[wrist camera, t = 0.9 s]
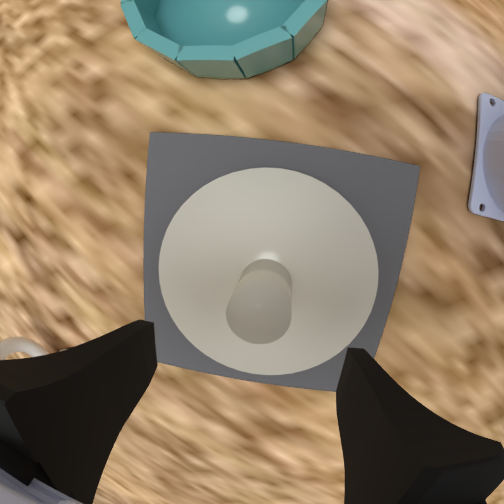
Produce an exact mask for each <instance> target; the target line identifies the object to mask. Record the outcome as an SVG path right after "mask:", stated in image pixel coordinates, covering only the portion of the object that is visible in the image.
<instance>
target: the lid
mask: <svg viewBox="0 0 504 504" xmlns="http://www.w3.org/2000/svg"><path fill="white" fill-rule="evenodd" d="M378 273H379V271H378V260H377V254H376V250H375V246H374V243H373V240H372V238H371V235H370V233H369V230H368V228H367V227H366V225H365V223H364V222H363V220H362V218H361V217H360V215H359V214H358V213H357V211H356V210H355V209H354V208H353V207H352V205H351V204H350V203H349V202H348V201H347V200H346V199H345V198H343V197H342V196H341V195H340V194H339V193H338V192H336V191H335V190H334V189H332V188H331V187H329V186H328V185H326V184H325V183H323V182H321V181H319V180H317V179H315V178H313V177H311V176H309V175H306V174H303V173H300V172H297V171H293V170H288V169H283V168H270V167H263V168H251V169H246V170H241V171H237V172H233V173H230V174H227V175H225V176H222V177H219V178H217V179H215V180H213V181H212V182H210V183H208V184H206V185H204V186H203V187H202V188H200V189H199V190H198V191H196V192H195V193H194V194H193V195H192V196H191V197H190V198H189V199H188V200H187V201H186V202H185V203H184V204H183V205H182V206H181V207H180V209H179V210H178V211H177V213H176V214H175V215H174V217H173V219H172V221H171V222H170V224H169V226H168V228H167V230H166V233H165V236H164V239H163V241H162V246H161V250H160V256H159V282H160V287H161V292H162V296H163V299H164V302H165V305H166V307H167V309H168V311H169V314H170V316H171V318H172V319H173V321H174V322H175V324H176V326H177V327H178V329H179V330H180V331H181V332H182V333H183V335H184V336H185V337H186V338H187V339H188V340H189V341H190V342H191V343H192V344H193V345H194V346H195V347H196V348H197V349H199V350H200V351H201V352H203V353H204V354H205V355H207V356H208V357H210V358H212V359H213V360H215V361H217V362H219V363H221V364H223V365H225V366H227V367H230V368H233V369H236V370H239V371H243V372H247V373H252V374H260V375H283V374H291V373H296V372H300V371H304V370H307V369H310V368H312V367H315V366H318V365H320V364H321V363H323V362H325V361H327V360H329V359H331V358H332V357H334V356H335V355H337V354H338V353H339V352H341V351H342V350H343V349H344V348H345V347H346V346H347V345H349V344H350V343H351V341H352V340H353V339H354V338H355V337H356V336H357V335H358V333H359V332H360V330H361V329H362V327H363V326H364V324H365V323H366V321H367V319H368V317H369V315H370V313H371V310H372V307H373V304H374V301H375V298H376V293H377V288H378Z"/></svg>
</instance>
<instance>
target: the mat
mask: <svg viewBox="0 0 504 504" xmlns="http://www.w3.org/2000/svg"><path fill="white" fill-rule="evenodd" d="M263 167H270V168H283V169H288V170H293V171H297V172H300V173H303V174H306V175H309V176H311V177H313V178H315V179H317V180H319V181H321V182H323V183H325V184H326V185H328V186H329V187H331V188H332V189H334V190H335V191H336V192H338V193H339V194H340V195H341V196H342V197H343V198H345V199H346V200H347V201H348V202H349V203H350V204H351V205H352V207H353V208H354V209H355V210H356V211H357V213H358V214H359V215H360V217H361V218H362V220H363V222H364V223H365V225H366V227H367V228H368V230H369V233H370V235H371V238H372V240H373V243H374V246H375V250H376V254H377V260H378V271H379V273H378V288H377V293H376V298H375V301H374V304H373V307H372V310H371V313H370V315H369V317H368V319H367V321H366V323H365V324H364V326H363V327H362V329H361V330H360V332H359V333H358V335H357V336H356V337H355V338H354V339H353V340H352V341H351V343H350V344H349V345H347V346H346V347H345V348H344V349H343V350H342V351H341V352H339V353H338V354H337V355H335V356H334V357H332V358H331V359H329V360H327V361H325V362H323V363H321V364H320V365H318V366H315V367H312V368H310V369H307V370H304V371H300V372H296V373H291V374H283V375H260V374H252V373H247V372H243V371H239V370H236V369H233V368H230V367H227V366H225V365H223V364H221V363H219V362H217V361H215V360H213V359H212V358H210V357H208V356H207V355H205V354H204V353H203V352H201V351H200V350H199V349H197V348H196V347H195V346H194V345H193V344H192V343H191V342H190V341H189V340H188V339H187V338H186V337H185V336H184V335H183V333H182V332H181V331H180V330H179V329H178V327H177V326H176V324H175V322H174V321H173V319H172V318H171V316H170V314H169V311H168V309H167V307H166V305H165V302H164V299H163V296H162V292H161V287H160V282H159V256H160V250H161V246H162V241H163V239H164V236H165V233H166V230H167V228H168V226H169V224H170V222H171V221H172V219H173V217H174V215H175V214H176V213H177V211H178V210H179V209H180V207H181V206H182V205H183V204H184V203H185V202H186V201H187V200H188V199H189V198H190V197H191V196H192V195H193V194H194V193H195V192H196V191H198V190H199V189H200V188H202V187H203V186H204V185H206V184H208V183H210V182H212V181H213V180H215V179H217V178H219V177H222V176H225V175H227V174H230V173H233V172H237V171H241V170H246V169H251V168H263ZM419 170H420V166H417V165H412V164H408V163H404V162H399V161H395V160H390V159H385V158H381V157H376V156H371V155H366V154H360V153H355V152H349V151H344V150H338V149H332V148H326V147H319V146H312V145H305V144H298V143H291V142H283V141H274V140H265V139H256V138H246V137H234V136H222V135H207V134H188V133H160V132H150V138H149V149H148V161H147V175H146V192H145V215H144V308H145V321H149V322H154V331H155V343H156V355H157V362H160V363H164V364H168V365H172V366H176V367H181V368H185V369H189V370H194V371H199V372H204V373H208V374H213V375H219V376H224V377H229V378H235V379H241V380H247V381H253V382H259V383H266V384H273V385H280V386H287V387H295V388H304V389H313V390H323V391H334V392H336V389H337V385H338V382H339V378H340V375H341V371H342V368H343V364H344V360H345V356H346V352H347V349H348V347H349V348H364V349H365V350H366V351H367V352H368V353H369V354H370V355H371V356H372V357H373V359H374V357H375V354H376V351H377V348H378V345H379V342H380V339H381V336H382V333H383V330H384V327H385V324H386V320H387V317H388V314H389V310H390V307H391V303H392V300H393V296H394V293H395V289H396V285H397V281H398V277H399V273H400V269H401V265H402V261H403V257H404V253H405V248H406V244H407V239H408V234H409V229H410V224H411V219H412V214H413V208H414V203H415V197H416V191H417V184H418V177H419Z"/></svg>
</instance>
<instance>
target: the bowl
mask: <svg viewBox="0 0 504 504" xmlns="http://www.w3.org/2000/svg"><path fill="white" fill-rule="evenodd" d="M327 2H328V0H121V2H120V3H121V7H122V10H123V12H124V15H125V17H126V20H127V22H128V25H129V27H130V30H131V32H132V35H133V37H134V38H135V40H137V41H138V42H140V43H142V44H143V45H145V46H146V47H148V48H149V49H151V50H152V51H153V52H155V53H156V54H158V55H159V56H161V57H162V58H164V59H166V60H168V61H170V62H171V63H173V64H175V65H177V66H178V67H180V68H181V69H184V70H185V71H187V72H189V73H190V74H192V75H194V76H195V77H196V76H197V77H208V78H215V79H238V78H242V79H245V78H246V77H247V78H249V77H252V76H255V75H259V74H262V73H265V72H268V71H271V70H273V69H275V68H277V67H280V66H282V65H283V64H285V63H287V62H289V61H292V60H293V58H294V59H295V58H296V57H297V55H298V54H299V53H301V52H302V51H303V50H304V48H305V47H306V46H307V45H308V44H309V43H310V42H311V40H312V39H313V38H314V36H315V35H316V33H317V32H318V31H319V30H320V29H321V28H322V25H323V22H324V17H325V12H326V7H327Z"/></svg>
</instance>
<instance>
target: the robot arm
mask: <svg viewBox="0 0 504 504" xmlns="http://www.w3.org/2000/svg"><path fill="white" fill-rule="evenodd" d="M490 100H491V101H492V104H493V105H491V104H490ZM481 204H482V210H480V209H479V206H480V205H481ZM468 208H469V211H470V212H472V213H474V214H478V215H482V216H485V217H489V218H493V219H497V220H500V221H504V101H503V100H501V99H499V98H497V97H495V96H492V95H490V94H488V93H481V94H480V95H479V98H478V123H477V138H476V150H475V159H474V168H473V175H472V183H471V189H470V196H469V201H468ZM156 368H157V355H156V343H155V331H154V322H149V321H144V320H137V321H134V322H132V323H129V324H127V325H125V326H123V327H121V328H118V329H116V330H114V331H112V332H110V333H107V334H105V335H103V336H101V337H98V338H96V339H93V340H91V341H88V342H86V343H83V344H81V345H78V346H76V347H73V348H70V349H67V350H63V351H59V352H56V353H52V354H47V355H42V356H37V357H31V358H23V359H12V360H0V504H92V503H93V500H94V496H95V493H96V490H97V487H98V484H99V481H100V478H101V475H102V472H103V470H104V467H105V465H106V462H107V460H108V457H109V455H110V452H111V450H112V448H113V446H114V443H115V441H116V439H117V437H118V435H119V433H120V431H121V429H122V427H123V425H124V424H125V422H126V421H127V419H128V418H129V416H130V414H131V413H132V411H133V410H134V408H135V407H136V405H137V403H138V402H139V400H140V399H141V397H142V396H143V394H144V392H145V391H146V389H147V388H148V386H149V384H150V382H151V379H152V377H153V375H154V373H155V370H156ZM336 408H337V418H338V425H339V431H340V438H341V444H342V451H343V457H344V467H345V500H344V504H487V503H486V501H485V499H486V498H487V497H488V496H489V495H490V494H491V493H492V492H493V491H494V490H495V489H496V488H497V487H498V485H499V484H500V483H501V482H502V481H503V480H504V448H503V446H502V444H501V443H500V442H497V441H494V440H491V439H488V438H485V437H482V436H479V435H476V434H474V433H471V432H469V431H467V430H464V429H462V428H460V427H458V426H456V425H454V424H452V423H450V422H448V421H447V420H445V419H443V418H442V417H440V416H438V415H437V414H435V413H433V412H432V411H430V410H429V409H428V408H426V407H425V406H424V405H422V404H421V403H419V402H418V401H417V400H416V399H414V398H413V397H412V396H411V395H409V394H408V393H407V392H406V391H405V390H404V389H403V388H402V387H401V386H399V385H398V384H397V383H396V382H395V381H394V380H393V379H392V378H391V377H390V376H389V375H388V374H387V373H386V371H385V370H384V369H383V368H382V367H381V366H380V365H379V364H378V363H377V362H376V361H375V360H374V359H373V357H372V356H371V355H370V354H369V353H368V352H367V351H366V350H365V349H364V348H349V347H348V349H347V352H346V356H345V360H344V364H343V368H342V371H341V375H340V378H339V382H338V385H337V389H336Z"/></svg>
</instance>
